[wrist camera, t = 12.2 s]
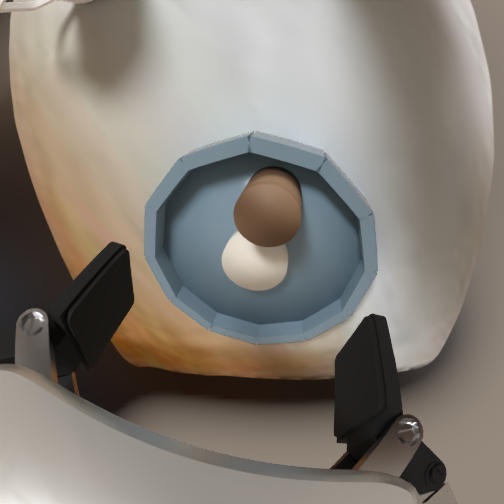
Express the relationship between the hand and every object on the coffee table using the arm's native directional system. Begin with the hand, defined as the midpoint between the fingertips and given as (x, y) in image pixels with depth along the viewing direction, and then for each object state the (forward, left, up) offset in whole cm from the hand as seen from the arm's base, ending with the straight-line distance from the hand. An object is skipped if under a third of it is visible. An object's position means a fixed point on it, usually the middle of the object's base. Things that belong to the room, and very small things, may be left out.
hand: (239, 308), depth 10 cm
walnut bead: (0, 0, -14) cm, 14 cm away
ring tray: (+6, +3, -15) cm, 16 cm away
